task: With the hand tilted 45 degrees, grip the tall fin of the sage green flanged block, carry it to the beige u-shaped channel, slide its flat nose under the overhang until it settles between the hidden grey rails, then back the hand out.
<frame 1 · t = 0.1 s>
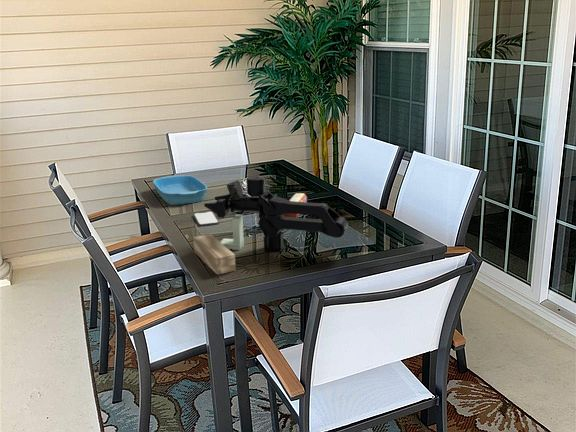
hand: (209, 201, 218), 17 cm above the table, tool horizontal, fingers open, 9 cm apart
snack package: (295, 212, 259), on the table
sage green flanged block: (231, 246, 218), on the table
casserole dish: (180, 197, 286), on the table
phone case: (206, 221, 250), on the table
beige u-shaped channel: (214, 260, 205), on the table
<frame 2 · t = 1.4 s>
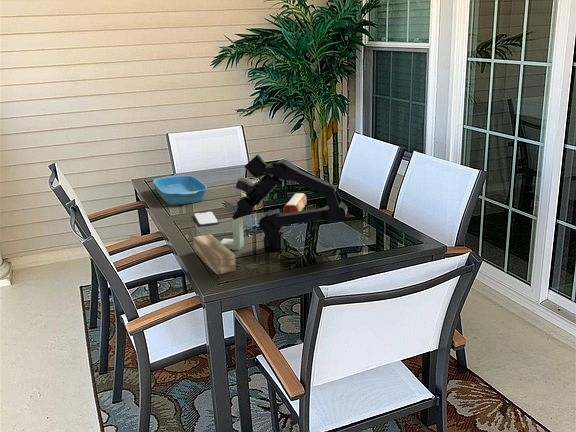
hand: (236, 214, 214), 13 cm above the table, tool tilted 45°, fingers open, 9 cm apart
nothing on the table moved.
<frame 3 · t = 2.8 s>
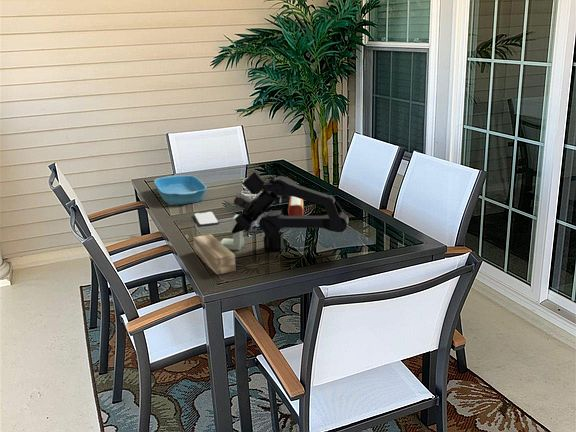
hand: (234, 230, 216), 7 cm above the table, tool tilted 45°, fingers closed on sage green flanged block, 5 cm apart
sage green flanged block: (231, 246, 218), on the table, touching gripper
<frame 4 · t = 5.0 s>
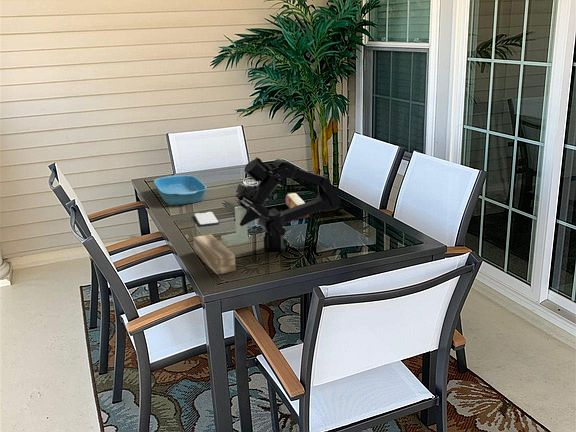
hand: (237, 223, 205), 12 cm above the table, tool tilted 45°, fingers closed on sage green flanged block, 5 cm apart
sage green flanged block: (235, 241, 207), point 6 cm above the table, touching gripper
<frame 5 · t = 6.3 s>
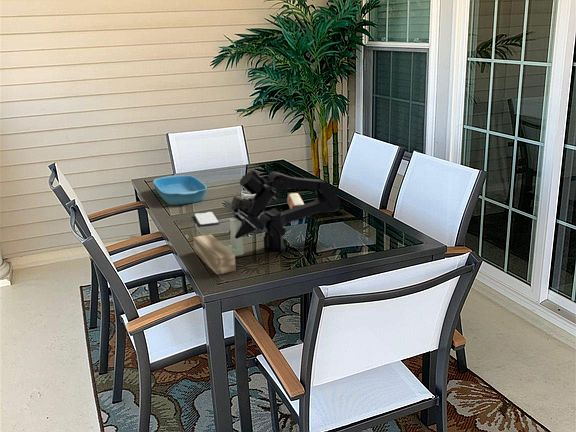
hand: (232, 235, 206), 8 cm above the table, tool tilted 45°, fingers closed on sage green flanged block, 5 cm apart
sage green flanged block: (230, 253, 207), point 1 cm above the table, touching gripper
when the fingers open (8 cm above the table, at t = 7.4 s): sage green flanged block drops 1 cm, on the table.
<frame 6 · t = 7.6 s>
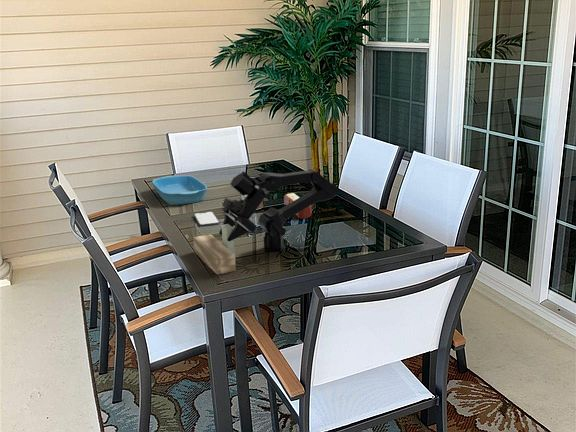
hand: (224, 237, 204), 8 cm above the table, tool tilted 45°, fingers open, 7 cm apart
sage green flanged block: (221, 259, 206), on the table
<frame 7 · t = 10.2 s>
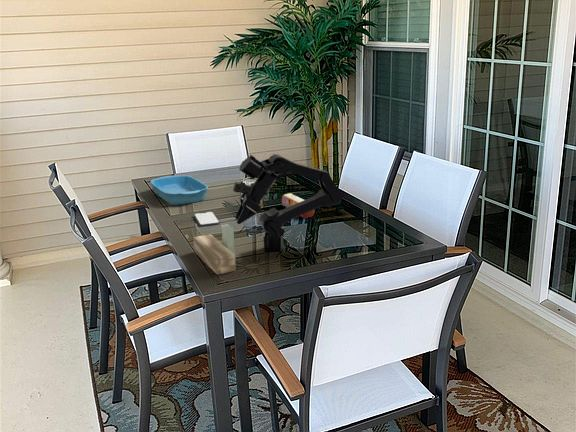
hand: (237, 221, 207), 13 cm above the table, tool tilted 40°, fingers open, 9 cm apart
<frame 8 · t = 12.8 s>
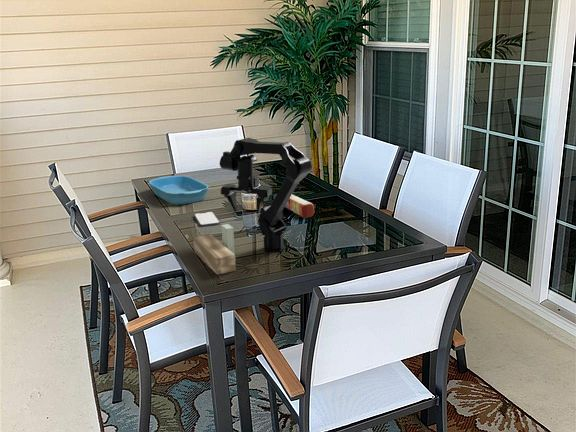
hand: (247, 212, 219), 12 cm above the table, tool pointing down, fingers open, 9 cm apart
at the end: sage green flanged block 0.1 cm from the target spot on the beige u-shaped channel, point 0.0 cm above the beige u-shaped channel's base; sage green flanged block tilted 0°; the gripper is holding nothing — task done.
